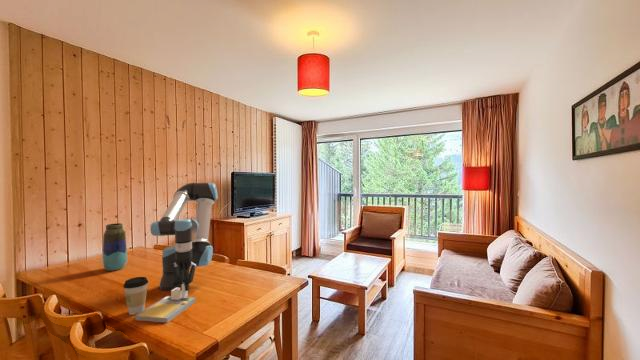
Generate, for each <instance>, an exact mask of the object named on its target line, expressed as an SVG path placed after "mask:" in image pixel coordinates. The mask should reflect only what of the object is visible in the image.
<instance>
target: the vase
mask: <svg viewBox="0 0 640 360" xmlns="http://www.w3.org/2000/svg"><path fill="white" fill-rule="evenodd" d="M123 227H124V226H123V223H118V222H117V223H109V224H106V225H105V231H104V233H103V236H102V257H101V259H102V266H103V268H104V269H105V270H106V271H109V272H113V271H114V270H115V271H118V270H121V269H123V268H125V266H126V265H127V262H128V248H127V238H126V232H125V230H124V228H123Z"/></svg>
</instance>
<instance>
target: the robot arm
mask: <svg viewBox="0 0 640 360" xmlns="http://www.w3.org/2000/svg"><path fill="white" fill-rule="evenodd" d="M218 199H219V196H218V188H217V185H216V183H214V182H190V183H186V184H184V185H182V186H180V187H179V188H178V189H177V190H176V191H175V192H174V194H173V195H172V200H171V202H170V204H169V205H168V207H167V208H166V210H165V212H164V213H163V215H162V217H161V218H160V220H159V221H158V220H156V221H153V222H152V223H151V225H150V228H149V229H150V234H151V235H152V236H154V237H163V236H174V245H171V246H168V247H165V248H164V249H162V252H161V253H162V255H161V258H162V259H161V261H162V262H161V263H162V275H161V278H160V281H159V290H160V291H165V292H166V291H167V292H169V291H170V292H171V290H173V289H175V288H176V287H179V288H180V290H181V291H182V298H185V297H189V294H188V293H189V290H190V284H191V283H193V281H194V276H195V271H196V268H198V267H199V268H201V267H206V266H209V264H211V261H212V258H213V254H214V248H213V245H211V242H210V241H209V234H210V227H211V226H210V224H211V215H212V207H213V205H214V204H215V201H217V200H218ZM191 201H192V202H193V201H194V203H195V204H196V212H195V213H196V214H195V219H193V218H191V219H190V218H180V219H179V217H180V215H181V213H182V212H183V210H184V207H185V206H186V204H188V203H189V202H191ZM192 236H193V237H192Z"/></svg>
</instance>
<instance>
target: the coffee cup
mask: <svg viewBox="0 0 640 360" xmlns="http://www.w3.org/2000/svg"><path fill="white" fill-rule="evenodd" d="M148 283H149V280H148V279H147V277H146V276H136V277H133V278H132V277H131V278H129V279H126V280H125V281H124V284H123V288H124V296H125V301H126V307H127V310H128V314H129V316H130V315H132V316H134V315H135V316H136V315H137V314H139V313H140V312H142V311H144V310H145V307H146V299H147V291H148Z"/></svg>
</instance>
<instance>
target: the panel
mask: <svg viewBox="0 0 640 360" xmlns="http://www.w3.org/2000/svg"><path fill="white" fill-rule="evenodd" d="M196 300H197V299H196V297H189V296H187V297H185V298H181V299H179V300H171V295H166V296H164V297H163V298H161V299H160V300H159V301H156V302H155V303H153V304H151V305H150V306H148V307H147V308H146V309H144V311H142V312H140V313H139V314H135V316H134V317H135V321H141V322H143V321H144V322H153V323H164V324H165V323H166V324H168V323H169V322H171V320H173V319H175V318H176V317H177V316H178V315H179V316H180V314H181V313H183V312H184V311H185V310H186V309H188V308H190V307H191V306H192V305H193V304H194V303H196Z"/></svg>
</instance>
